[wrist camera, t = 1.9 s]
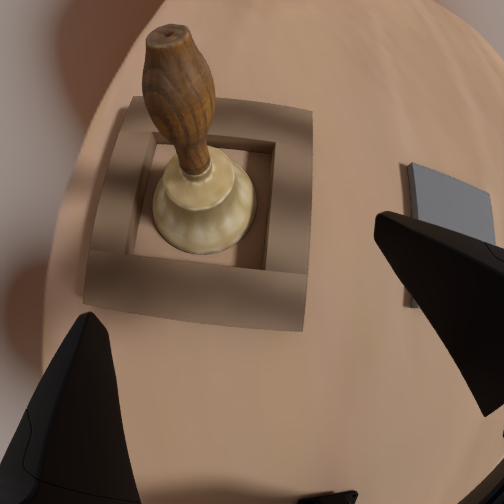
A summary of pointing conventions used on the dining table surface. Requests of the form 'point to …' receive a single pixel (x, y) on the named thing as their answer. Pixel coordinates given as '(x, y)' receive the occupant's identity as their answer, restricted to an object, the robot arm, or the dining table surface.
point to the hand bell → (192, 150)
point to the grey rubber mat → (450, 204)
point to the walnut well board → (205, 275)
